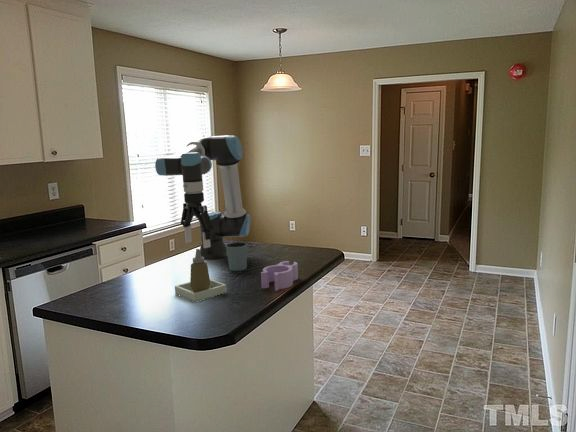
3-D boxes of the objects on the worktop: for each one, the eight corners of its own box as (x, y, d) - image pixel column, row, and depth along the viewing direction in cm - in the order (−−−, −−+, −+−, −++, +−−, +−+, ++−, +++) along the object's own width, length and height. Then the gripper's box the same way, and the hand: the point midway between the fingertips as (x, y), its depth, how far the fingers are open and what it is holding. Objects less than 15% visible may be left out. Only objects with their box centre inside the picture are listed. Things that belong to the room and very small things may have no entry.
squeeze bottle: (208, 295, 184) (205, 251, 181) (188, 295, 185) (185, 252, 182) (212, 288, 192) (209, 246, 189) (193, 289, 193) (190, 247, 190)
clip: (280, 274, 211) (280, 260, 210) (304, 278, 205) (304, 262, 204) (256, 287, 194) (255, 272, 193) (282, 291, 188) (281, 275, 186)
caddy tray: (175, 294, 189) (174, 286, 189) (206, 285, 199) (206, 277, 198) (194, 302, 178) (194, 294, 178) (226, 293, 188) (226, 284, 188)
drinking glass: (250, 265, 227) (248, 241, 225) (246, 271, 217) (244, 246, 215) (229, 265, 228) (228, 242, 226) (225, 271, 219) (223, 246, 217)
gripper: (169, 191, 188) (173, 241, 192) (202, 195, 170) (206, 251, 174) (185, 189, 193) (189, 238, 197) (219, 193, 175) (223, 247, 179)
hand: (197, 244), depth 185 cm, fingers open, 13 cm apart
